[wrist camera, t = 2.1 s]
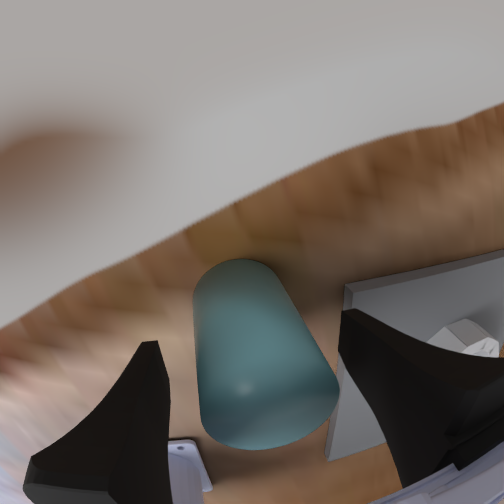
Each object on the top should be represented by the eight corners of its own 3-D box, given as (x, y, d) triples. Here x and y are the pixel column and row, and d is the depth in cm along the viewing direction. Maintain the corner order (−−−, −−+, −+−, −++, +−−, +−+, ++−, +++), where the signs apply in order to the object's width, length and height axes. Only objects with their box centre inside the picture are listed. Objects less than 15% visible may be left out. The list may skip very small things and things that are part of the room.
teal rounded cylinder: (200, 344, 16) (213, 458, 10) (185, 266, 14) (187, 372, 8) (284, 330, 17) (332, 433, 10) (281, 252, 15) (346, 343, 9)
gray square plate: (324, 452, 22) (338, 485, 19) (344, 284, 16) (377, 319, 13) (473, 391, 25) (492, 411, 21) (523, 244, 19) (553, 260, 15)
